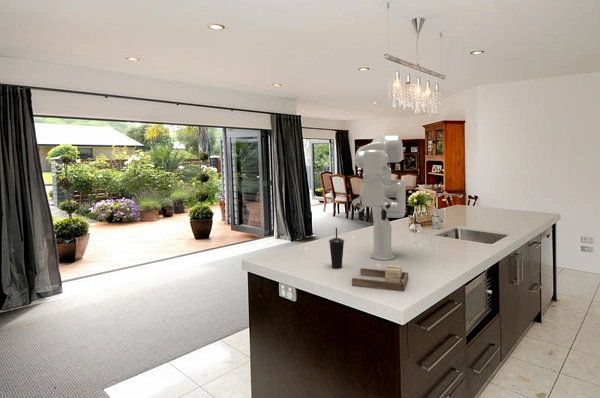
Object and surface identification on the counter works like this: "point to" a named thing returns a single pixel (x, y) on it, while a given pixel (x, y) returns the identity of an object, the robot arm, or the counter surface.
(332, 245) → the drinking cup
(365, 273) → the bay
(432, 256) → the counter surface
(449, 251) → the counter surface
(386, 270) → the light wooden block
